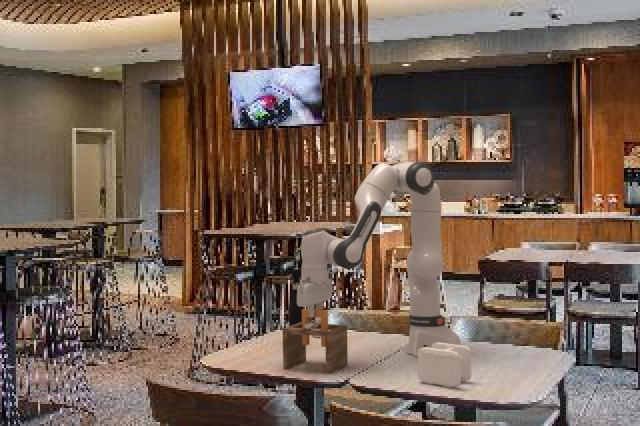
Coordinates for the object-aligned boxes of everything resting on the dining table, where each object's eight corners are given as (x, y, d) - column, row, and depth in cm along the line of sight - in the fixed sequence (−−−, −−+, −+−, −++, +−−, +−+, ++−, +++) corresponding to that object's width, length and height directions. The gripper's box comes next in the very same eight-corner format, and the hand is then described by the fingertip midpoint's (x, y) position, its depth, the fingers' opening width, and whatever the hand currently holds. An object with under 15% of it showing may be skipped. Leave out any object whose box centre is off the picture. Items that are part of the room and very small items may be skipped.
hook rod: (326, 324, 292) (325, 318, 292) (308, 330, 280) (308, 324, 280) (321, 323, 293) (320, 318, 293) (303, 330, 281) (303, 324, 281)
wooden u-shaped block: (328, 345, 286) (327, 310, 285) (325, 347, 284) (324, 311, 283) (305, 343, 290) (304, 308, 289) (302, 344, 288) (301, 309, 287)
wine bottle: (303, 347, 320) (302, 270, 318) (287, 347, 321) (286, 270, 320) (307, 344, 326) (306, 268, 325) (291, 343, 327) (290, 268, 326)
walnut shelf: (347, 365, 289) (347, 325, 289) (329, 373, 277) (329, 332, 276) (302, 360, 298) (301, 321, 297) (283, 368, 285) (282, 328, 284)
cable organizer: (474, 383, 262) (474, 347, 261) (457, 390, 254) (456, 352, 253) (434, 376, 272) (433, 341, 271) (416, 382, 264) (415, 346, 263)
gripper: (308, 280, 275) (309, 321, 276) (335, 273, 293) (335, 311, 294) (291, 279, 278) (292, 320, 279) (319, 272, 296) (320, 310, 297)
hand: (315, 315), depth 286 cm, fingers closed on wooden u-shaped block, 2 cm apart
